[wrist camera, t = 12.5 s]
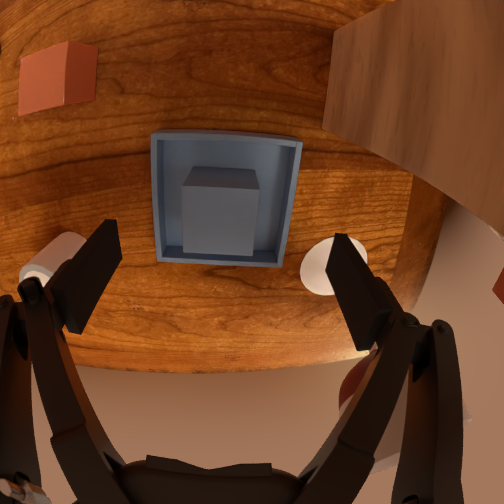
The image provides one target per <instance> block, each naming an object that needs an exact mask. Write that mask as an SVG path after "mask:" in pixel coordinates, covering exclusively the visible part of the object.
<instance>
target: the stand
mask: <svg viewBox="0 0 504 504" xmlns="http://www.w3.org/2000/svg"><path fill="white" fill-rule="evenodd" d="M322 130H325V131H327V132H330V133H332V134H334V135H337V136H339V137H341V138H344V139H346V140H348V141H350V142H352V143H355V144H357V145H359V146H361V147H363V148H365V149H367V150H369V151H371V152H373V153H375V154H377V155H379V156H381V157H383V158H385V159H387V160H389V161H391V162H393V163H395V164H396V165H398V166H400V167H402V168H404V169H405V170H407V171H409V172H411V173H412V174H414V175H416V176H418V177H419V178H421V179H423V180H424V181H426V182H427V183H429V184H431V185H432V186H434V187H435V188H437V189H439V190H440V191H442V192H443V193H445V194H446V195H448V196H449V197H451V198H452V199H454V200H455V201H457V202H458V203H460V204H461V205H462V206H464V207H465V208H467V209H468V210H469V211H471V212H472V213H473V214H475V215H476V216H477V217H479V218H480V219H482V220H483V221H484V222H485V223H487V224H488V225H489V226H490V227H492V228H493V229H494V230H495V231H496V232H498V233H499V234H500V235H501V236H502V237H504V0H396V1H393V2H391V3H389V4H386V5H384V6H382V7H380V8H378V9H375V10H373V11H371V12H369V13H367V14H365V15H363V16H361V17H359V18H357V19H355V20H353V21H352V22H350V23H348V24H346V25H344V26H342V27H341V28H339V29H337V30H335V31H334V35H333V45H332V54H331V63H330V72H329V80H328V88H327V95H326V103H325V110H324V117H323V123H322ZM493 292H494V293H495V294H496V295H497V297H498V298H499V299H500V300H501V301H502V303H503V304H504V268H503V270H502V272H501V274H500V276H499V278H498V280H497V282H496V283H495V285H494V287H493Z"/></svg>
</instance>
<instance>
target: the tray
mask: <svg viewBox="0 0 504 504" xmlns="http://www.w3.org/2000/svg"><path fill="white" fill-rule="evenodd" d="M302 146H303V142H302V141H301V140H299V139H298V138H296V137H291V136H283V135H274V134H265V133H254V132H241V131H226V130H201V129H160V130H158V131H156V132H153V133H151V185H152V205H153V221H154V233H155V244H156V254H157V261H159V262H162V261H163V262H176V263H194V264H213V265H232V266H253V267H277V268H282V264H283V259H284V253H285V248H286V243H287V237H288V232H289V226H290V220H291V215H292V209H293V203H294V197H295V191H296V185H297V179H298V172H299V166H300V159H301V153H302ZM192 167H218V168H235V169H250V170H255V172H256V176H257V180H258V184H259V188H260V196H259V205H258V214H257V222H256V231H255V240H254V248H253V256H244V255H224V254H204V253H185V252H183V237H182V185H183V183H184V181H185V179H186V178H187V176H188V174H189V172H190V171H191V169H192Z"/></svg>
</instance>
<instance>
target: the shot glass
mask: <svg viewBox="0 0 504 504" xmlns="http://www.w3.org/2000/svg"><path fill="white" fill-rule="evenodd" d="M86 241H87V240H86V239H85V238H84V237H83V236H81V235H79V234H78V233H75V232H69V231H68V232H65V233H62V234H60V235H59V236H58V237H56V238H55V239H54V240H53V241H52V242H50V243H49V244H48V245H47V246H46V247H45V248H43V249H42V250H41V251H40V252H39V253H38V254H37V255H35V256H34V257H33V258H32V259H31V260H30V261H29V262H28V263H27V264H25V265H24V266H23V268H22V270H21V271H20V273H19V283H20V282H22V281H23V280H24V279H26V278H28V277H31V276H36V277H38V278H39V279H40V281H41V283H42V286H43V287H44V286H45V284H46V283H47V282H48V280H49V279H50V278H51V276H53V274H54V273H55V271H57V269H58V267H59V266H60V265H61V264H62V263H63V262H65V261H66V260H67V259H72V258H73V257H74V255H75V254H76V253H77V252H78V250H79V249H80V248H81V247H82V246H83V244H84V243H85V242H86Z"/></svg>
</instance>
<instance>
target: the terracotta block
mask: <svg viewBox="0 0 504 504" xmlns="http://www.w3.org/2000/svg"><path fill="white" fill-rule="evenodd" d="M98 50H99V47H96V46H92V45H88V44H84V43H79V42H75V41H70V40H67V41H64V42H61V43H58V44H55V45H53V46H50V47H47V48H44V49H42V50H39V51H37V52H34V53H32V54H30V55H27V56H25V57H23V58H21V65H20V76H19V97H18V116H19V117H20V116H23V115H27V114H31V113H36V112H40V111H44V110H49V109H54V108H58V107H63V106H67V105H72V104H77V103H83V102H89V101H94V100H95V87H96V71H97V59H98Z"/></svg>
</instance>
